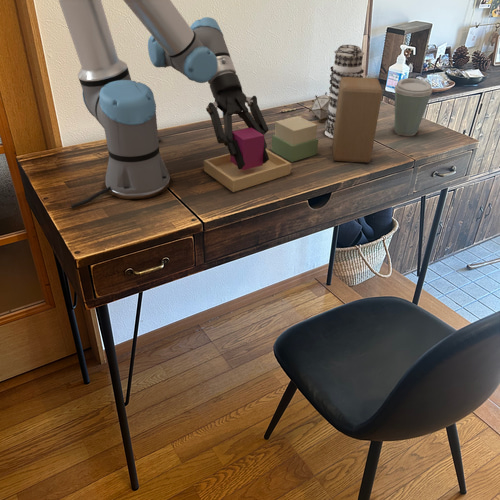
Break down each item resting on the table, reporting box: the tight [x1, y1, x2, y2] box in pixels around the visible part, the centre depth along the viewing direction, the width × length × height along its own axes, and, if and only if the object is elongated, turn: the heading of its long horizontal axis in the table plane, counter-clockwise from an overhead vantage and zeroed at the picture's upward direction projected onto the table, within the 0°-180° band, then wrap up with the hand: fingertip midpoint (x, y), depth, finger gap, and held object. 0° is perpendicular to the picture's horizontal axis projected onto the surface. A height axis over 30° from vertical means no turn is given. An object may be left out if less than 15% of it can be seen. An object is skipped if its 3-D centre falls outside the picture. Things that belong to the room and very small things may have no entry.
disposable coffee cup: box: [393, 77, 433, 137], centre depth 145 cm, size 11×11×15 cm
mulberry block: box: [230, 127, 265, 170], centre depth 121 cm, size 6×6×8 cm
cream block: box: [274, 115, 318, 145], centre depth 132 cm, size 8×8×4 cm
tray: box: [203, 148, 292, 193], centre depth 124 cm, size 18×14×3 cm
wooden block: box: [331, 77, 383, 164], centre depth 129 cm, size 10×10×20 cm
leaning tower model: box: [324, 44, 365, 139], centre depth 140 cm, size 9×9×25 cm
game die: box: [308, 91, 331, 123], centre depth 154 cm, size 9×8×10 cm
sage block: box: [270, 134, 319, 163], centre depth 134 cm, size 9×9×4 cm
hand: (253, 164), depth 120 cm, fingers closed on mulberry block, 6 cm apart
